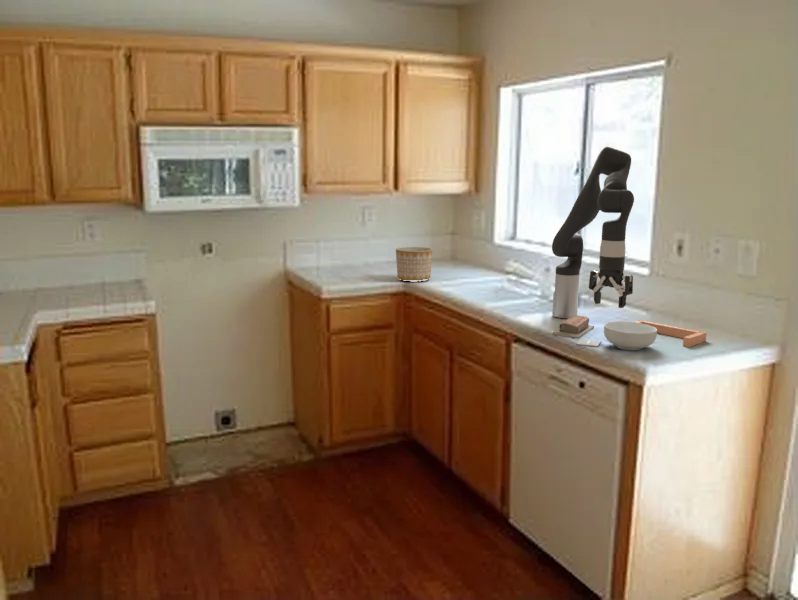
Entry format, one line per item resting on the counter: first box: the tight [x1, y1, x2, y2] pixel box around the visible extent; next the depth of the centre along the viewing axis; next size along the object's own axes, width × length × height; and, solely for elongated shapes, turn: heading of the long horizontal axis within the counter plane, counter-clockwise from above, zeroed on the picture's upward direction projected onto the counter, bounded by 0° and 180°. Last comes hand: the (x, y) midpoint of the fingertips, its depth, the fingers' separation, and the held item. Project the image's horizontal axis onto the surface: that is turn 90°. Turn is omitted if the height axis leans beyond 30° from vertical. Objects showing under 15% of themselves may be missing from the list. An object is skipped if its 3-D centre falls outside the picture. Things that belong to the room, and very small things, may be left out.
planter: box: [395, 246, 434, 280], centre depth 354 cm, size 19×19×16 cm
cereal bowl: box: [603, 320, 658, 351], centre depth 225 cm, size 17×17×7 cm
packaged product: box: [552, 315, 595, 338], centre depth 247 cm, size 18×5×10 cm
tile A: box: [576, 338, 602, 348], centre depth 230 cm, size 7×7×1 cm
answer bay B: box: [634, 319, 708, 348], centre depth 239 cm, size 12×25×3 cm, turn 40°
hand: (609, 305), depth 214 cm, fingers open, 8 cm apart
